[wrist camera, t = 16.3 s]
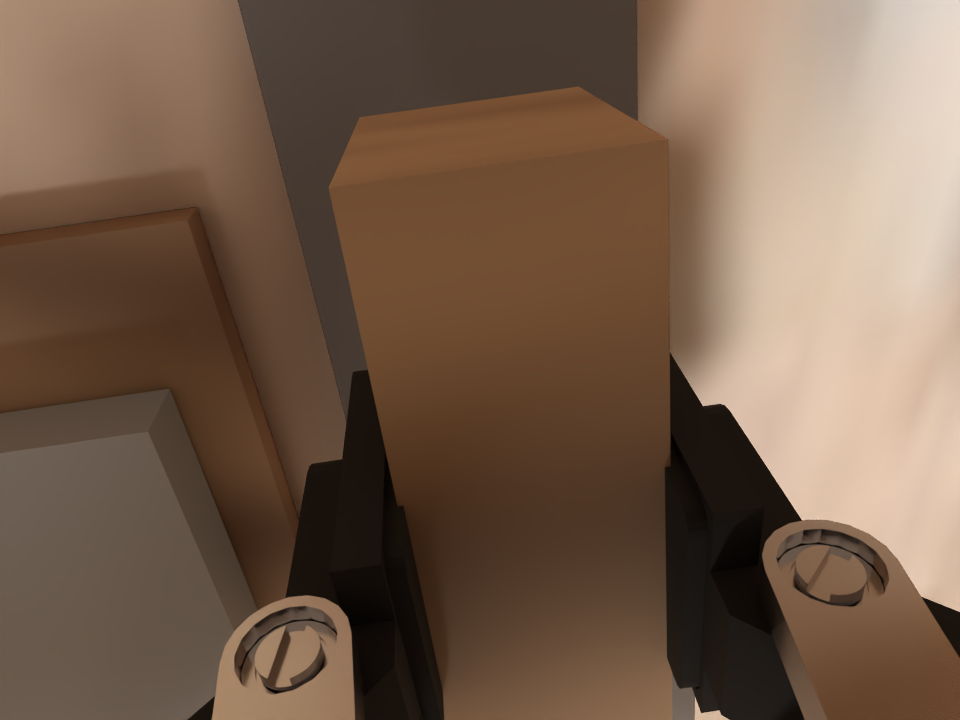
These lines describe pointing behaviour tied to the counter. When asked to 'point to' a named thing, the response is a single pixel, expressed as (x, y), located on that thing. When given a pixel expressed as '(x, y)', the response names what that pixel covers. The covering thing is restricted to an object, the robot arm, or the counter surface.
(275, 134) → the dark grey rectangular slab
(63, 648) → the tile
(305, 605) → the robot arm
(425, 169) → the tall wooden pillar
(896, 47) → the counter surface
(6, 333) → the board
